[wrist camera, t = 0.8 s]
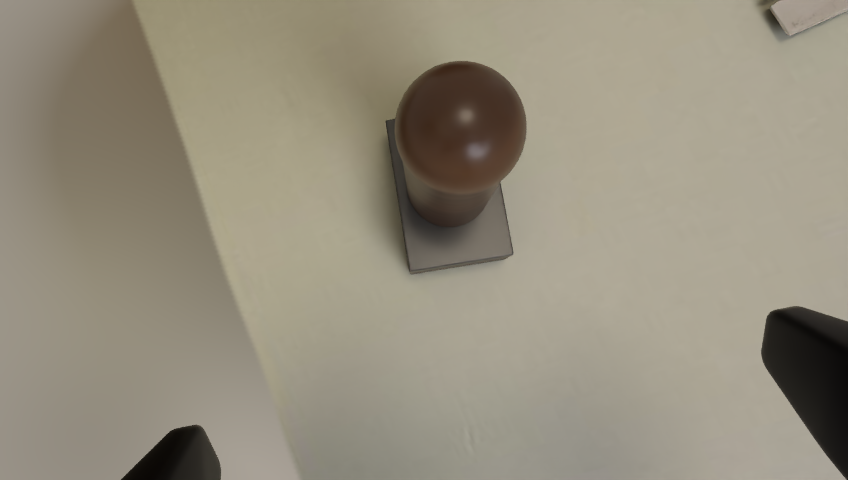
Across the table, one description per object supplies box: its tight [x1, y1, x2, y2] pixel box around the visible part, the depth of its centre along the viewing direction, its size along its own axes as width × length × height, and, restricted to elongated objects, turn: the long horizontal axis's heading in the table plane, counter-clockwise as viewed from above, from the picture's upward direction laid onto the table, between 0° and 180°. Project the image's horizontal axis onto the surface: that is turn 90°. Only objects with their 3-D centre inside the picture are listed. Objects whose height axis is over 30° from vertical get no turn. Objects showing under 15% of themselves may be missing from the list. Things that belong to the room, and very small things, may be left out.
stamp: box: [386, 61, 526, 274], centre depth 17 cm, size 6×4×10 cm, turn 9°
